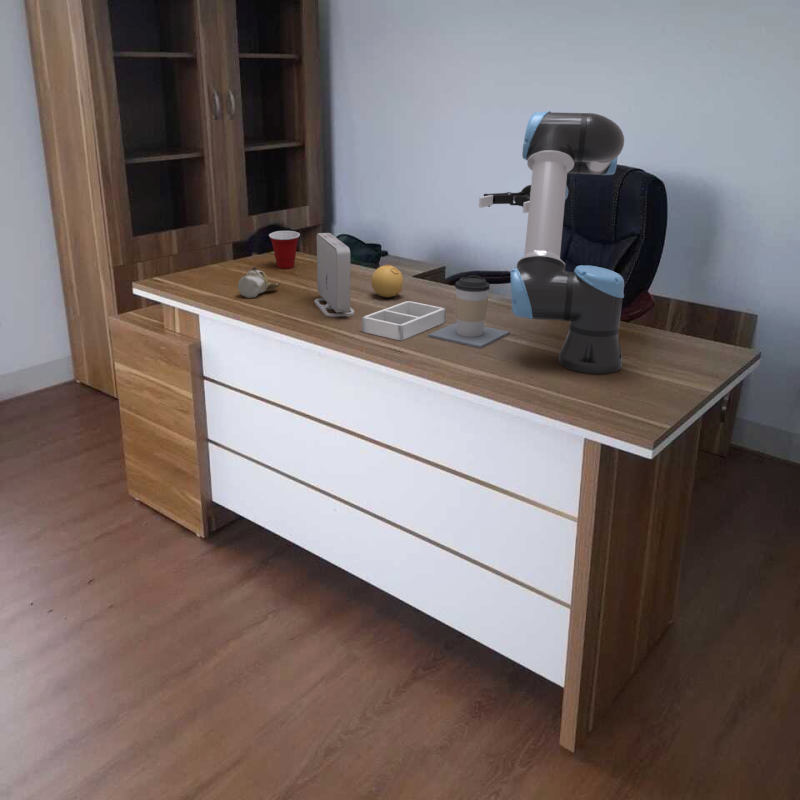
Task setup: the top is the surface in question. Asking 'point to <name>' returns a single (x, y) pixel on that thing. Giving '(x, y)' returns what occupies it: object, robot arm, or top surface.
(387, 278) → the stress ball
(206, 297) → the top surface
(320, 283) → the network device
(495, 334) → the grey mat
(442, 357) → the top surface
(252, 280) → the ceramic sculpture
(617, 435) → the top surface
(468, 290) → the coffee cup
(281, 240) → the plastic cup
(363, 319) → the white rectangular frame
